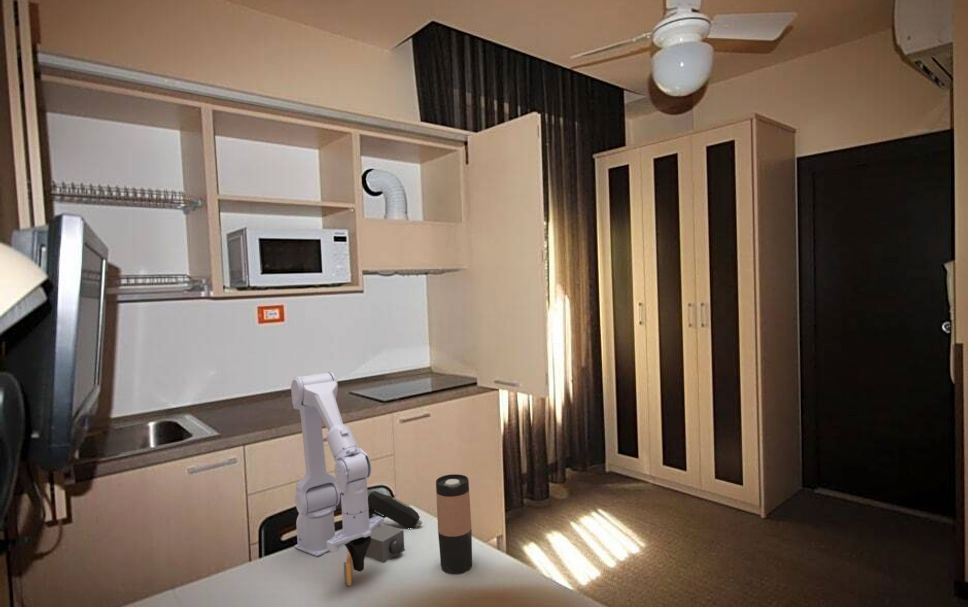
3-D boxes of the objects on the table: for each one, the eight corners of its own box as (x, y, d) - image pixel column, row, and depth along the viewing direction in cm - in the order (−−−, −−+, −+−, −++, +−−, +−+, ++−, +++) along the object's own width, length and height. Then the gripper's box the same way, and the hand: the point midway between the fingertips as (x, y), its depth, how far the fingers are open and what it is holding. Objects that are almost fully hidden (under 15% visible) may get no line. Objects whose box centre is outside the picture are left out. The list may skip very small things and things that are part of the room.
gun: (408, 550, 144) (423, 517, 143) (356, 520, 147) (371, 488, 146) (412, 545, 147) (426, 513, 146) (361, 516, 150) (375, 484, 149)
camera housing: (355, 552, 133) (353, 529, 132) (376, 540, 138) (375, 519, 138) (388, 564, 126) (387, 540, 126) (409, 551, 132) (408, 529, 131)
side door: (348, 552, 132) (347, 533, 132) (354, 551, 133) (353, 532, 132) (344, 585, 117) (343, 564, 117) (351, 584, 117) (349, 563, 117)
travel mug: (454, 554, 129) (449, 472, 128) (480, 563, 124) (475, 477, 124) (433, 569, 123) (428, 482, 122) (459, 578, 118) (454, 488, 118)
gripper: (340, 525, 111) (344, 591, 111) (391, 501, 122) (395, 560, 123) (319, 518, 115) (322, 581, 115) (370, 495, 127) (373, 552, 127)
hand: (358, 569), depth 119 cm, fingers closed
